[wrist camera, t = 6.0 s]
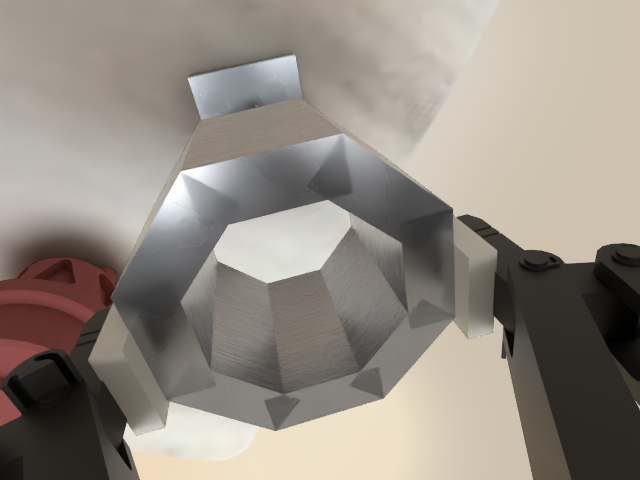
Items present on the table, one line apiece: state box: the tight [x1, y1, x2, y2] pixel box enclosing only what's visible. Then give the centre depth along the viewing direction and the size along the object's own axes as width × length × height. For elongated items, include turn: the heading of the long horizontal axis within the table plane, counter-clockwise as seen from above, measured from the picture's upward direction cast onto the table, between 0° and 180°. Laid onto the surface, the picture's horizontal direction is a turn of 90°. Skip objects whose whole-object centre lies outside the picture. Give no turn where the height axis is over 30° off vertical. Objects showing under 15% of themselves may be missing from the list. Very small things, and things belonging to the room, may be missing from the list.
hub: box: [111, 98, 455, 431], centre depth 13 cm, size 8×8×6 cm
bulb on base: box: [188, 54, 304, 120], centre depth 25 cm, size 10×7×8 cm
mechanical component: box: [0, 257, 117, 426], centre depth 26 cm, size 12×10×10 cm
